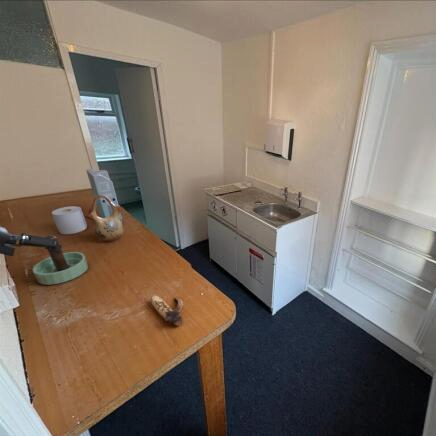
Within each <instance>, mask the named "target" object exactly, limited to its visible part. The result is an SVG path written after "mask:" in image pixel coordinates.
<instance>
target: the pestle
mask: <svg viewBox="0 0 436 436" xmlns="http://www.w3.org/2000/svg"><path fill="white" fill-rule="evenodd" d="M44 238H50V239H56V240H57V244H60V243H59V241H58V238H57V236H55V235H53V234H50V235H47V236H44ZM46 250H47V252H48V254H49V257H51V259H52V261H53V263H54V266H55V269H54V272H59V271H62V270H65V269H68V268H70V267H71V266H70V265H67V262H66V260H65V258H64V255H63V253H64V252H63V250H62V249H61V252H59V253H58V252H55V251H51V250H48V249H46Z"/></svg>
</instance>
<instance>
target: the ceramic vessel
mask: <svg viewBox="0 0 436 436" xmlns="http://www.w3.org/2000/svg"><path fill="white" fill-rule="evenodd" d="M98 198H105V199H106V200H107V201H108V202H109V204H110V205H111V207H112V210H113V213H112V215H111V216H109V217H107V218H101V217H100V216H98V215H97V211H96V206H97V204H96V200H97V199H98ZM122 211H124V207H122V206H120V205H119V206H116V205H114V204H113V203H112V202H111V201H110V199H109V198H108V197H106V196H103V195H99V196H97V197H95V198H93V201H92V204H91V207H90V208H89V210H88V211H87V212H86V213H84V214H83V215H84V218H85V219H89V220H90V221H92V222H93V224H94V229H93V230H94V234H95V236H96V237H97V238H98V239H99V240H101V241H103V242H108V243H109V242H114V241H117V240H118V239H120V238H121V237H122V236H123V234H124V232H125V228H124V224H123V221H122V222H121V221H120V219H119V214H120V213H121V212H122Z"/></svg>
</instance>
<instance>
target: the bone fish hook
mask: <svg viewBox="0 0 436 436" xmlns="http://www.w3.org/2000/svg"><path fill="white" fill-rule="evenodd" d="M174 300H175V301H176V302H177V306H176V307H175V308H174V309H173V308H171V306H170V305H169V304H168V303H166V302H165V301H164V299H162V298H161V297H159V295H157V294H154V295H152V296H151V297H150V303H151V305H152V306H153V307H154V309H155V310H156V311H157V313H158V314H159V315H160V316H161V317H162V318H163V319H164V322H167V323H169V324H171V325H172V324H173V325H174V326H175V327H179V326H181V325H182V322H183V320H182V317H183V316H182V315H180V313H181V312H182V311H183V308H184V302H183V300H182V299H180V298H179V297H174Z"/></svg>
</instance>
